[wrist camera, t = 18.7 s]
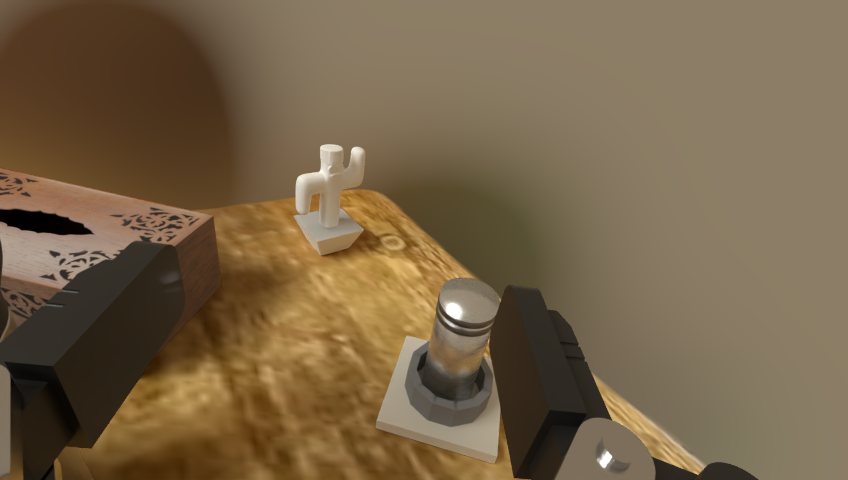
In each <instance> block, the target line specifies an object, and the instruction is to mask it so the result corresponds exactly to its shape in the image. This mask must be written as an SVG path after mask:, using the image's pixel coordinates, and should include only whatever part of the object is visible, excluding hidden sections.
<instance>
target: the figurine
mask: <svg viewBox="0 0 848 480" xmlns="http://www.w3.org/2000/svg"><path fill="white" fill-rule="evenodd" d="M343 153H344V151H343V148H342V147H341V146H338V145H333V144H327V145H322V146H321V147H320V159H321V169H320V172H315V173H308V174H303V175H301V176H299V177H298V179H297V181H296V210H297V211H298V212H299V213H300V215H295V216H294V218H295V219H296V221H297V223H298V225H299V226H300V228H301V230H302V232H303V233H304V235H305V237H306V239H307V240H308V241H309V243H310V244H311V245H312V246H313V247H314V248H315V249H316V251H317V252H318V253H319V254H320V255H321V256H322V255H326V254H329V253H333V252H337V251H340V250H344V249H348V248H349V247H350V246H351V245H352V244H353V242H354V241H355V240H356V239H357V238H358V237H359V235H360V234H361V233H362V232H363V231H364V229H363V228H362V227H361V226H360V225H358V224H357V223H356V222H355V221H354V220H353V219H352V218H351V217H350V216H349V215H348V214H347V213H346V212H344V211H343V210H342V209H341V208H340V193H341V191H342V190H343V189H346V188H352V187H357V186H358V185H360V184H361V182H362V180H363V175H364V164H365V151H364V150H363V149H362V148H360V147H354V148H353V149H352V151H351V160H350V164H349V166H348V168H344V166H343V165H342V164H343ZM318 193H320V211H315V212H310V201H311V197H312V195H313V194H318ZM309 212H310V213H309Z"/></svg>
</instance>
